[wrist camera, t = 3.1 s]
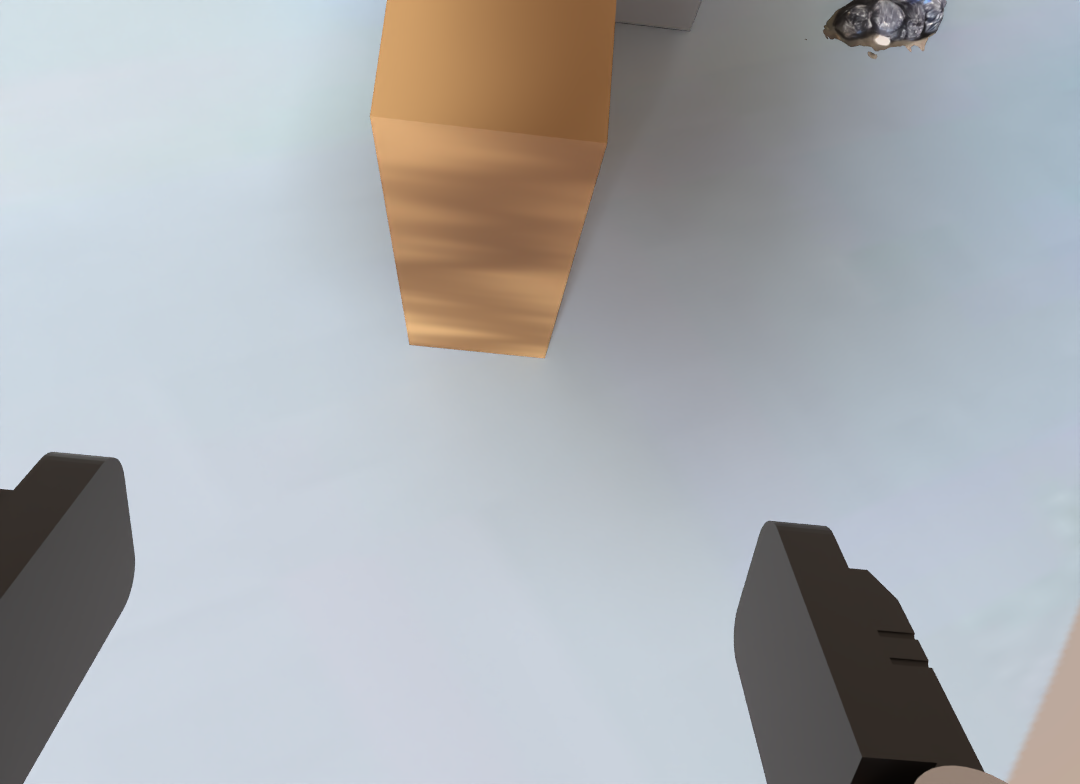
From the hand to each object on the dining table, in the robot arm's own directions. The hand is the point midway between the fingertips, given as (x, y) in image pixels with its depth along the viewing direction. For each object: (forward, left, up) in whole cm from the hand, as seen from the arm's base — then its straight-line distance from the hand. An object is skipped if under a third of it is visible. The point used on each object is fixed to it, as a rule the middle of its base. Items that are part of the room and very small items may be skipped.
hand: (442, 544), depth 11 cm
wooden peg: (0, +9, -14) cm, 17 cm away
